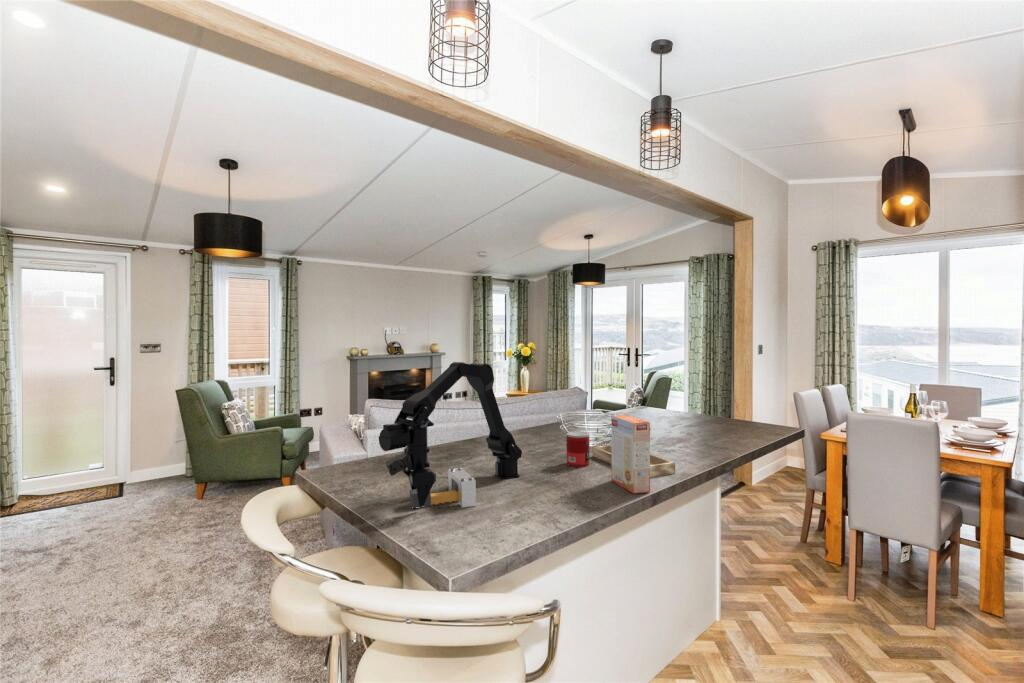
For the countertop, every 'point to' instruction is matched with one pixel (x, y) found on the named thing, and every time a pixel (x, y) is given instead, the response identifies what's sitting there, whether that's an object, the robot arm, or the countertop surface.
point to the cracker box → (631, 453)
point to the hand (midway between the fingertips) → (418, 500)
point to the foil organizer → (656, 463)
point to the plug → (434, 497)
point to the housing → (463, 486)
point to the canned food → (578, 449)
